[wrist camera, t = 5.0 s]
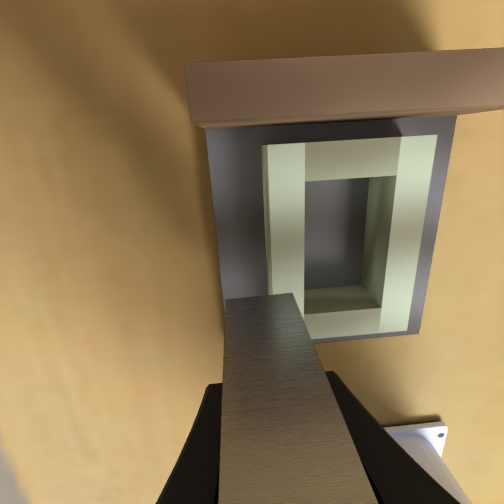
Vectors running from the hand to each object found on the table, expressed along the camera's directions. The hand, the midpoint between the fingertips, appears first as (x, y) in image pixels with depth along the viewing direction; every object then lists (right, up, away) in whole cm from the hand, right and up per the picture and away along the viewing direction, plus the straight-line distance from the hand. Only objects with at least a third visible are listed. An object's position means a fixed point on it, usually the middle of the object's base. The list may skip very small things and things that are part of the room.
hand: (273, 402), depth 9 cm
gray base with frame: (+3, +6, +8) cm, 10 cm away
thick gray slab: (0, +1, +3) cm, 3 cm away
